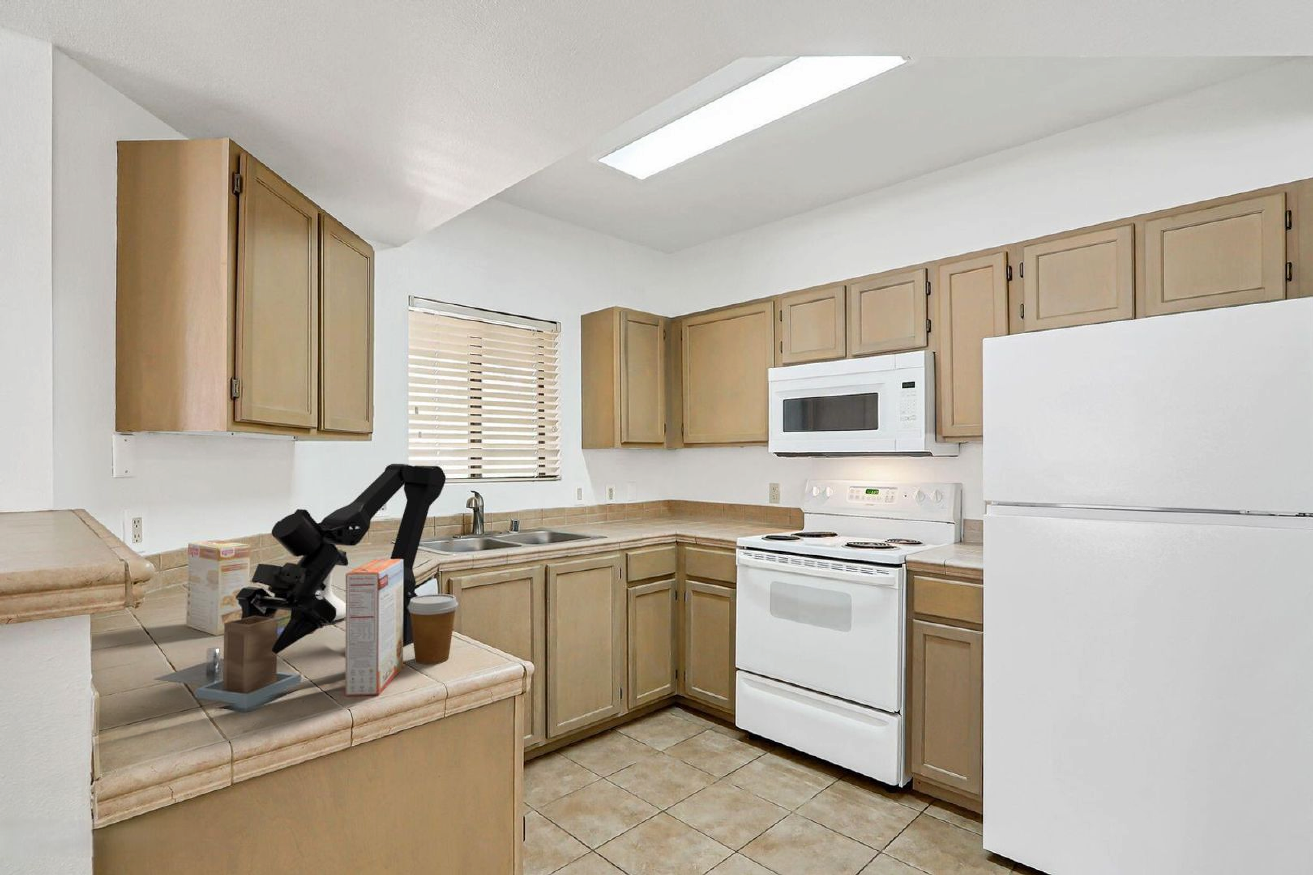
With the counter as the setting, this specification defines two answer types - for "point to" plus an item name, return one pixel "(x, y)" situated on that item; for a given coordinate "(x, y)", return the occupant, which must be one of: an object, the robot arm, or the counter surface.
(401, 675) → the counter surface
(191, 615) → the coffeecake box
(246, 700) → the slate tray
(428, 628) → the disposable coffee cup
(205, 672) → the plate
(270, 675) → the walnut collar
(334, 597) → the flower in vase
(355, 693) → the cracker box
